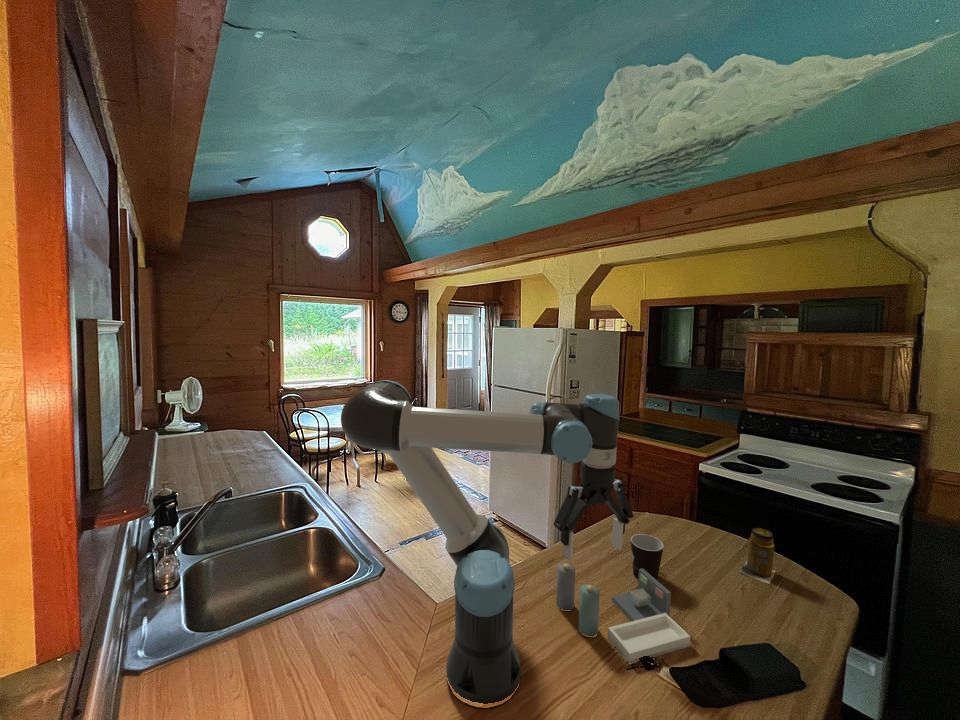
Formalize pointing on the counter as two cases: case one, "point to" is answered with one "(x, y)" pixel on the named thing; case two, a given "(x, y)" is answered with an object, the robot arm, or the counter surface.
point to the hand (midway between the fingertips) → (592, 552)
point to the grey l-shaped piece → (658, 599)
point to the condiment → (760, 556)
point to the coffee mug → (646, 554)
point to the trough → (648, 637)
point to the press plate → (640, 597)
